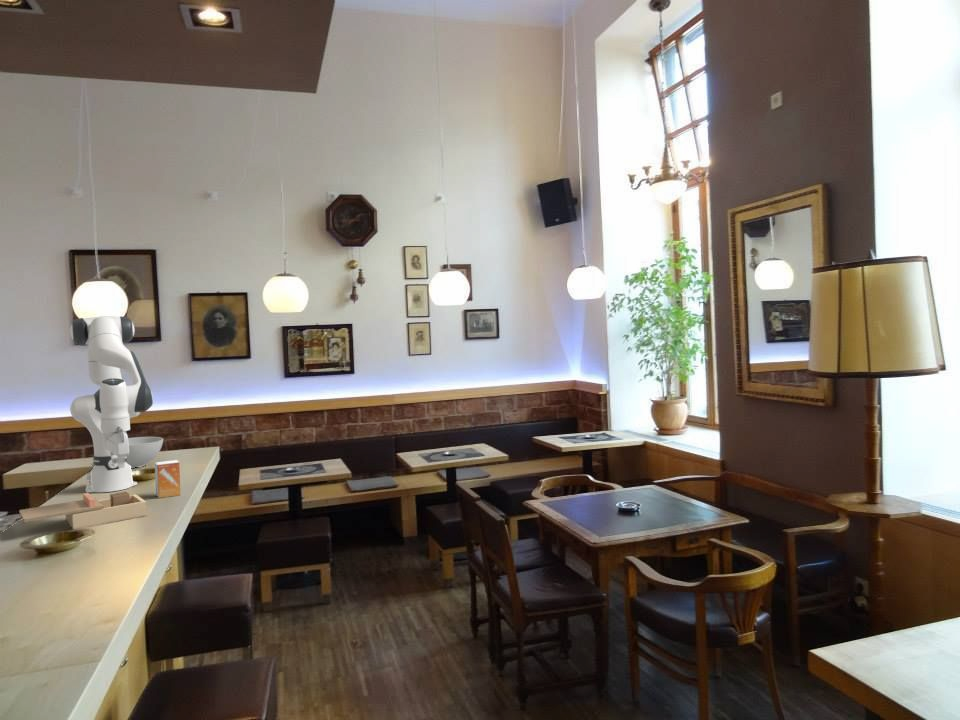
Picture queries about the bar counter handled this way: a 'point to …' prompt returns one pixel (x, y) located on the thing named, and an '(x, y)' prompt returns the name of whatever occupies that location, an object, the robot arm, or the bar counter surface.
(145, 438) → the decorative bowl
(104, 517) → the open wooden box
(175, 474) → the small box
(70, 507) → the lid
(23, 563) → the bar counter surface
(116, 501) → the walnut block
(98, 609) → the bar counter surface
